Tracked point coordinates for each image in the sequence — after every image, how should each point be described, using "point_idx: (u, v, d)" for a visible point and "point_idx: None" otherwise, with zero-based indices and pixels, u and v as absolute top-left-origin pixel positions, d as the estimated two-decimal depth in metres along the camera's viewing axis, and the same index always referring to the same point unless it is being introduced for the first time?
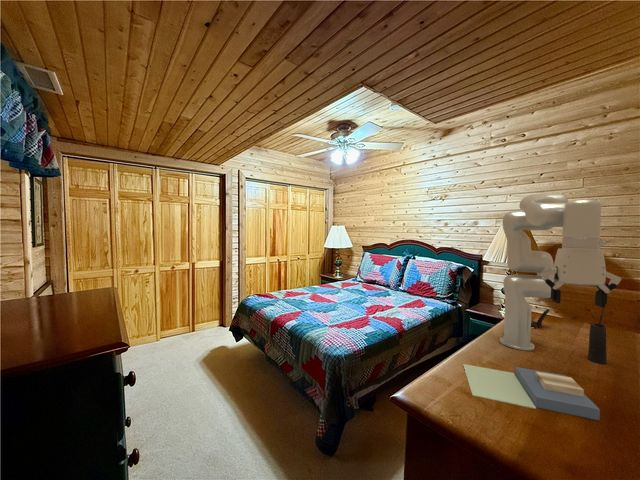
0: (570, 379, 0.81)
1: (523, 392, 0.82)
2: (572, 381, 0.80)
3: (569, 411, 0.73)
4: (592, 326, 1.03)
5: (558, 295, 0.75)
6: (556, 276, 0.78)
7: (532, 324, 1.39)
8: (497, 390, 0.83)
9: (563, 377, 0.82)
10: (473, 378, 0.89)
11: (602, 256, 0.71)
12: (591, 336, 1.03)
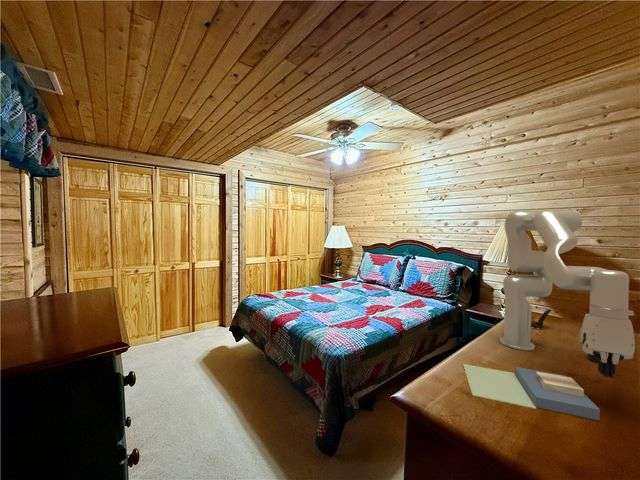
0: (570, 379, 0.81)
1: (523, 392, 0.82)
2: (572, 381, 0.80)
3: (569, 411, 0.73)
4: None
5: (607, 369, 0.75)
6: (583, 340, 0.80)
7: (533, 324, 1.39)
8: (497, 390, 0.83)
9: (563, 377, 0.82)
10: (473, 378, 0.89)
11: (631, 327, 0.73)
12: None
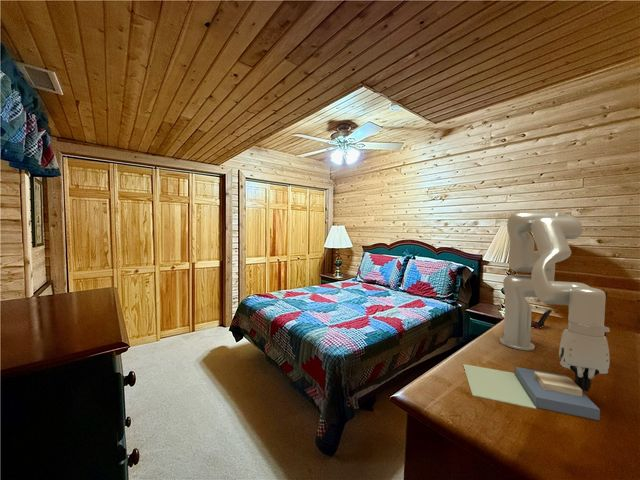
0: (568, 379, 0.81)
1: (523, 392, 0.82)
2: (570, 381, 0.80)
3: (569, 411, 0.73)
4: None
5: (583, 383, 0.77)
6: (562, 354, 0.82)
7: (534, 324, 1.39)
8: (497, 390, 0.83)
9: (561, 377, 0.82)
10: (473, 378, 0.89)
11: (606, 343, 0.75)
12: None
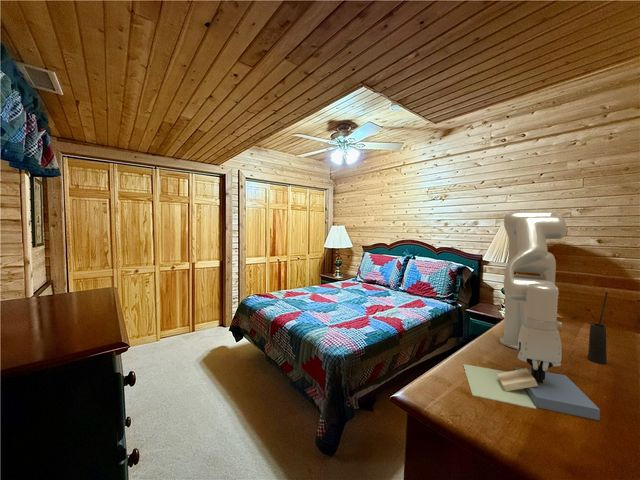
0: (525, 371, 0.85)
1: (523, 392, 0.82)
2: (526, 372, 0.84)
3: (569, 411, 0.73)
4: (592, 326, 1.03)
5: (537, 375, 0.81)
6: (520, 348, 0.86)
7: None
8: (497, 390, 0.83)
9: (519, 371, 0.86)
10: (473, 378, 0.89)
11: (558, 337, 0.79)
12: (591, 336, 1.03)
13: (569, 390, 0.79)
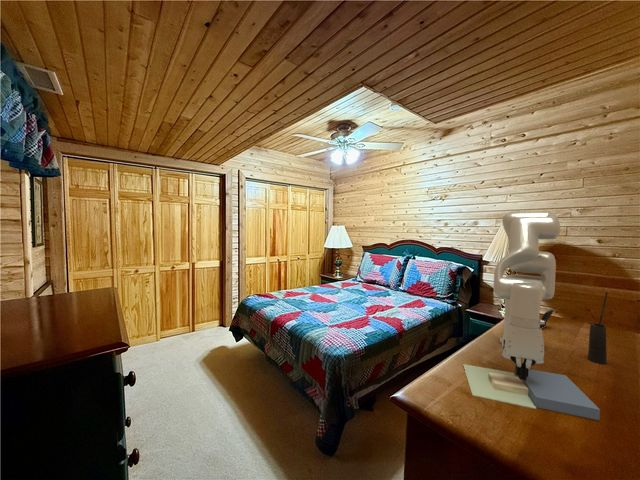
0: (518, 379, 0.86)
1: None
2: (519, 381, 0.85)
3: (569, 411, 0.73)
4: (592, 326, 1.03)
5: (521, 372, 0.83)
6: (505, 346, 0.88)
7: None
8: (497, 390, 0.83)
9: (512, 377, 0.87)
10: (473, 378, 0.89)
11: (541, 335, 0.80)
12: (591, 336, 1.03)
13: (569, 390, 0.79)
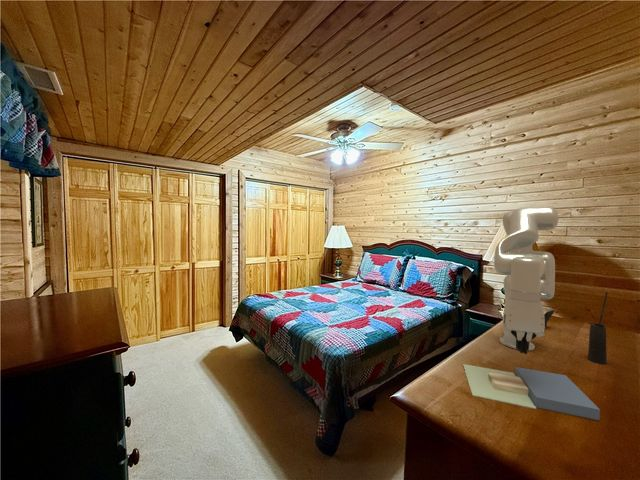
0: (518, 379, 0.86)
1: None
2: (519, 381, 0.85)
3: (569, 411, 0.73)
4: (592, 326, 1.03)
5: (521, 346, 0.83)
6: None
7: None
8: (497, 390, 0.83)
9: (512, 377, 0.87)
10: (473, 378, 0.89)
11: (541, 308, 0.80)
12: (591, 336, 1.03)
13: (569, 390, 0.79)
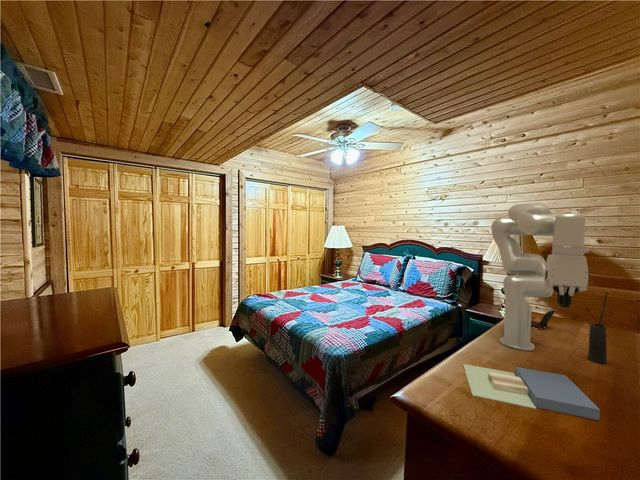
0: (518, 379, 0.86)
1: None
2: (519, 381, 0.85)
3: (569, 411, 0.73)
4: (592, 326, 1.03)
5: (564, 300, 0.85)
6: (546, 278, 0.90)
7: (536, 325, 1.39)
8: (497, 390, 0.83)
9: (512, 377, 0.87)
10: (473, 378, 0.89)
11: (585, 262, 0.82)
12: (591, 336, 1.03)
13: (569, 390, 0.79)
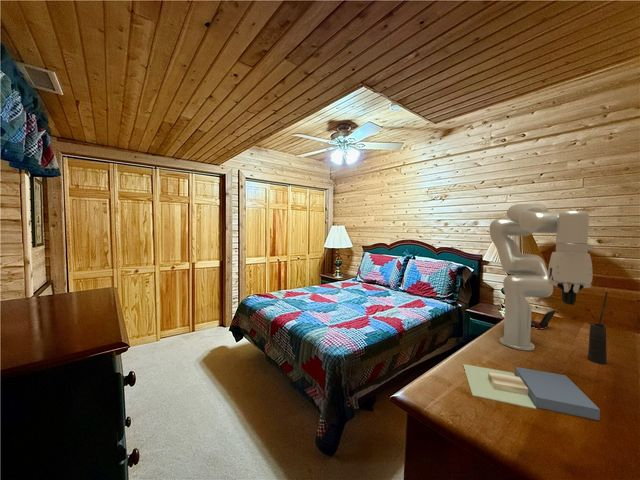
0: (518, 379, 0.86)
1: None
2: (519, 381, 0.85)
3: (569, 411, 0.73)
4: (592, 326, 1.03)
5: (569, 297, 0.85)
6: (550, 276, 0.90)
7: (536, 325, 1.38)
8: (497, 390, 0.83)
9: (512, 377, 0.87)
10: (473, 378, 0.89)
11: (589, 259, 0.83)
12: (591, 336, 1.03)
13: (569, 390, 0.79)
